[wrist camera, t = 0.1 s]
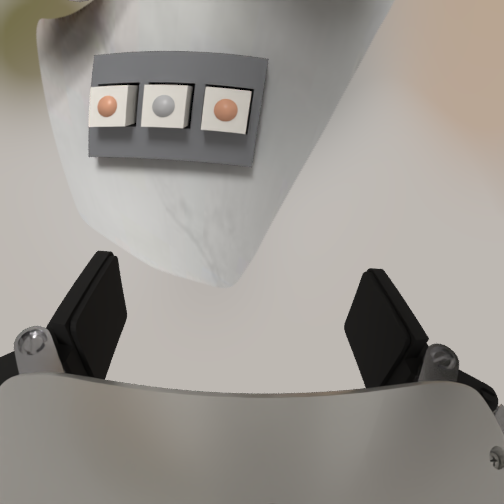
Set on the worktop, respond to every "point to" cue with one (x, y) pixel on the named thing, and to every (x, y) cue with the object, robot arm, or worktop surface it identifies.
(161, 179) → the worktop surface
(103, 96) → the dot key
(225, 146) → the slotted grey tray
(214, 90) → the dot key
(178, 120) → the plain key
